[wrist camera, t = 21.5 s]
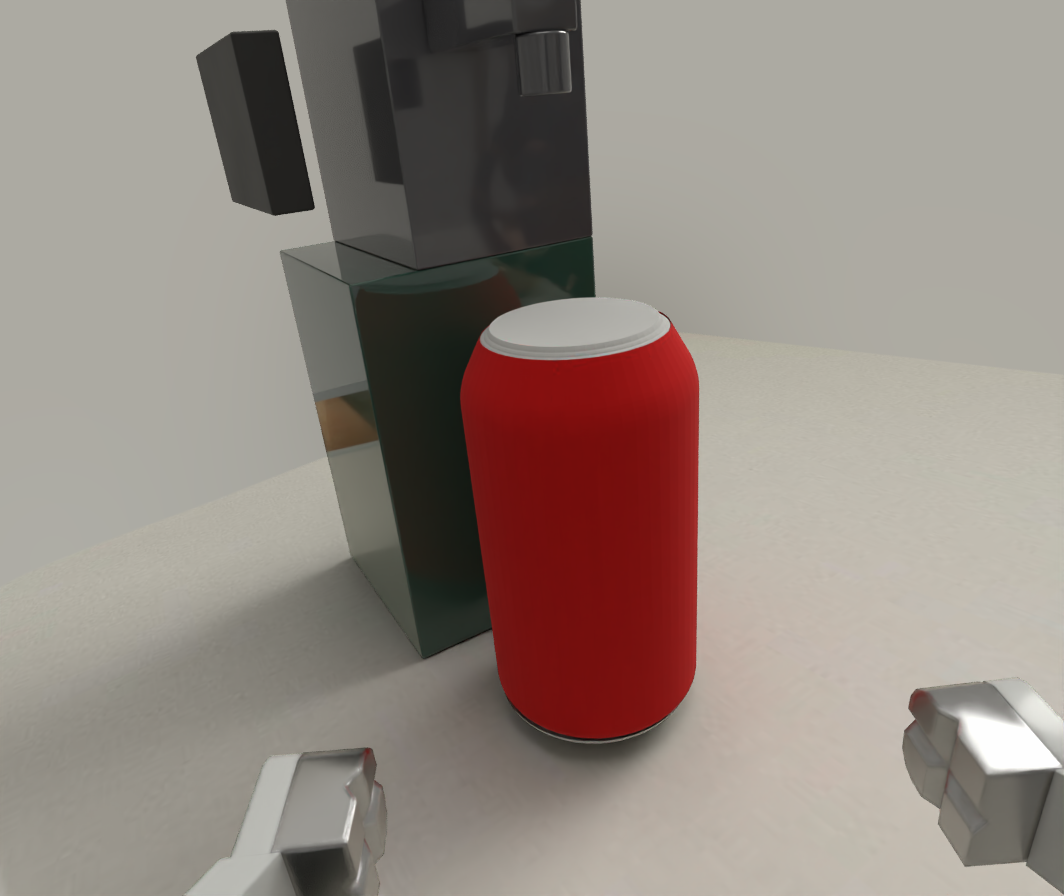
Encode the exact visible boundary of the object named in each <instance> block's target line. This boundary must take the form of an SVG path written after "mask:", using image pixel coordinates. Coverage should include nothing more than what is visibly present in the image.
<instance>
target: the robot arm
mask: <svg viewBox="0 0 1064 896" xmlns="http://www.w3.org/2000/svg"><path fill="white" fill-rule="evenodd" d="M908 709H909V710H910V712H911V713H912V715H913V716H914V718H915V720H914V721H913V722H912V723H911V724H910V725H909V726H908V727H907V728H906V729H905V730H904V738H903V746H902V749H903V754H904V760H905V765H906V768H907V771H908V773H909V775H910V778H911V780H912V782H913V784H914V786H915V787H916V789H917V791H918V792H919V794H920V796H921V797H923V798H924V799H926V800H927V801H929V802H930V803H932V804H933V805H935V806H936V807H938V808H939V809H940V813H939V820H938V825H939V826H940V828H941V830H942V831H943V833H944V834H945V836H946V838H947V839H948V841H949V842H950V844H951V845H952V847H953V849H954V850H955V852H956V853H957V855H958V857H959V858H960V860H961V861H962V863H963V865H964V866H965V867H967V866H980V865H993V864H1006V863H1019V862H1027V863H1026V866H1028V867H1029V868H1030V869H1032V870H1033V871H1034V872H1035V873H1037V874H1038V875H1039V876H1041V877H1042V878H1043V879H1045V880H1046V881H1047V882H1048V883H1050V884H1051V885H1052V886H1054V887H1055V888H1056V889H1058V890H1059V891H1060V892H1061V893H1063V894H1064V721H1063V720H1062V719H1061V718H1060V717H1059V716H1058V715H1057V714H1056V712H1055V711H1054V710H1053V709H1052V708H1051V707H1050V706H1049V705H1048V704H1047V703H1046V702H1045V701H1044V700H1043V699H1042V698H1041V696H1040V695H1039V694H1038V693H1037V692H1036V691H1035V690H1034V689H1033V688H1032V687H1031V686H1030V685H1029V684H1028V683H1027V682H1026V681H1024V680H1022V679H1020V678H1018V677H1017V678H1008V679H999V680H990V681H983V682H971V683H962V684H954V685H945V686H937V687H928V688H919V689H916V690H915V691H914V692H913V694H912V695H911V697H910V702H909V707H908ZM376 767H377V763H376V760H375V756H374V753H373V750H372V749H371V748H368V747H367V748H355V749H342V750H330V751H317V752H304V753H299V754H287V755H274V756H269V757H268V759H267V760H266V761H265V763H264V764H263V765H262V768H261V771H260V773H259V776H258V779H257V782H256V785H255V788H254V791H253V793H252V796H251V799H250V802H249V805H248V808H247V811H246V813H245V816H244V819H243V822H242V825H241V828H240V831H239V833H238V836H237V839H236V842H235V845H234V848H233V851H232V853H231V856H230V857H229V858H221V859H219V860H218V861H217V862H216V863H215V864H214V865H213V866H212V867H211V868H210V869H209V870H208V871H207V872H206V873H205V874H204V875H203V876H202V877H201V878H200V879H199V880H198V881H197V882H196V883H195V884H194V885H193V886H192V887H191V888H190V889H189V890H188V891H187V892H186V893H185V894H184V895H183V896H378V893H379V886H380V882H379V878H378V874H377V871H376V867H375V864H376V863H377V862H378V861H379V859H380V858H381V857H382V856H383V854H384V851H385V843H386V835H387V809H386V801H385V795H384V791H383V787H382V785H381V784H379V783H378V782H376V781H375V780H374V779H375V773H376Z"/></svg>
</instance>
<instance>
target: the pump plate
mask: <svg viewBox="0 0 1064 896" xmlns="http://www.w3.org/2000/svg"><path fill="white" fill-rule="evenodd" d="M196 59H197V63H198V67H199V71H200V75H201V79H202V83H203V86H204V90H205V94H206V99H207V103H208V107H209V110H210V114H211V118H212V122H213V126H214V130H215V134H216V138H217V142H218V146H219V150H220V154H221V158H222V162H223V166H224V169H225V174H226V178H227V182H228V185H229V189H230V193H231V197H232V200H233V202H236V203H239V204H242V205H245V206H248V207H250V208H253V209H257V210H260V211H263V212H265V213H269V214H271V215H275V216H276V215H281V214H288V213H295V212H302V211H308V210H313V209H314V208H315V206H314V201H313V196H312V191H311V187H310V182H309V178H308V172H307V167H306V163H305V158H304V153H303V148H302V143H301V139H300V134H299V129H298V124H297V120H296V115H295V110H294V105H293V100H292V96H291V90H290V86H289V81H288V76H287V72H286V66H285V62H284V57H283V52H282V47H281V42H280V38H279V33H278V31H276V30H264V31H242V32H231V33H230V34H228V35H227V36H225V37H224V38H222V39H221V40H219V41H218V42H216V43H215V44H213V45H212V46H210V47H209V48H207V49H206V50H204V51H203V52H201V53H200V54H198V55H197V56H196Z"/></svg>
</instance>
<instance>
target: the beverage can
mask: <svg viewBox="0 0 1064 896" xmlns="http://www.w3.org/2000/svg"><path fill="white" fill-rule="evenodd" d="M460 401H461V411H462V418H463V425H464V432H465V439H466V446H467V454H468V461H469V468H470V475H471V482H472V489H473V496H474V503H475V510H476V517H477V525H478V532H479V539H480V546H481V553H482V560H483V567H484V574H485V581H486V588H487V596H488V603H489V610H490V617H491V624H492V631H493V638H494V645H495V652H496V660H497V667H498V674H499V678H500V682H501V685H502V687H503V690H504V692H505V694H506V696H507V699H508V701H509V702H510V704H511V706H512V707H513V708H514V710H515V711H516V712H517V713H518V715H519V716H520V717H521V718H523V719H524V720H525V721H526V722H527V723H529V724H530V725H531V726H533V727H534V728H536V729H538V730H539V731H541V732H543V733H545V734H547V735H550V736H553V737H555V738H558V739H562V740H566V741H571V742H576V743H587V744H600V743H611V742H617V741H622V740H625V739H629V738H632V737H635V736H638V735H640V734H643V733H645V732H647V731H649V730H651V729H652V728H654V727H656V726H657V725H659V724H660V723H661V722H663V721H664V720H665V719H666V718H667V717H668V716H670V715H671V714H672V713H673V711H674V710H675V709H676V708H677V707H678V705H679V703H680V702H681V701H682V700H683V699H684V697H685V695H686V694H687V692H688V691H689V688H690V686H691V684H692V682H693V679H694V675H695V669H696V630H697V538H698V446H699V379H698V374H697V370H696V367H695V364H694V361H693V358H692V356H691V354H690V352H689V351H688V349H687V347H686V346H685V344H684V342H683V341H682V339H681V337H680V336H679V334H678V332H677V331H676V329H675V327H674V326H673V324H672V322H671V321H670V319H669V318H668V317H667V316H666V315H665V314H663V313H661V312H659V311H657V310H656V309H655V308H654V307H652V306H650V305H647V304H645V303H642V302H637V301H632V300H626V299H619V298H599V297H598V298H597V297H594V298H572V299H562V300H554V301H548V302H542V303H537V304H533V305H529V306H525V307H521V308H518V309H515V310H512V311H510V312H507V313H505V314H503V315H501V316H499V317H498V318H496V319H495V320H494V321H493V322H492V323H491V324H490V325H489V326H487V327H486V328H485V329H484V330H483V331H482V332H481V334H480V336H479V339H478V341H477V343H476V346H475V348H474V351H473V353H472V355H471V358H470V360H469V363H468V365H467V367H466V370H465V372H464V376H463V380H462V385H461V392H460Z"/></svg>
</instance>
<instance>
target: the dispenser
mask: <svg viewBox="0 0 1064 896" xmlns="http://www.w3.org/2000/svg"><path fill="white" fill-rule="evenodd" d="M286 4H287V9H288V14H289V19H290V24H291V29H292V34H293V38H294V44H295V49H296V54H297V59H298V64H299V69H300V74H301V79H302V84H303V88H304V94H305V98H306V103H307V109H308V114H309V118H310V123H311V128H312V133H313V138H314V143H315V148H316V153H317V158H318V163H319V168H320V173H321V178H322V183H323V188H324V193H325V198H326V202H327V208H328V213H329V218H330V223H331V228H332V233H333V238H334V241H333V242H328V243H322V244H316V245H310V246H305V247H299V248H293V249H287V250H281V251H280V255H281V260H282V264H283V268H284V273H285V277H286V281H287V285H288V290H289V294H290V298H291V302H292V307H293V311H294V315H295V319H296V323H297V328H298V332H299V337H300V341H301V345H302V349H303V354H304V358H305V362H306V367H307V371H308V375H309V379H310V384H311V388H312V392H313V396H314V401H315V405H316V409H317V413H318V418H319V422H320V426H321V430H322V435H323V439H324V444H325V448H326V452H327V456H328V461H329V465H330V469H331V474H332V478H333V482H334V486H335V491H336V495H337V499H338V503H339V508H340V512H341V516H342V521H343V525H344V529H345V533H346V538H347V542H348V546H349V551H350V555H351V557H352V558H353V559H354V561H355V562H356V564H357V565H358V567H359V568H360V570H361V571H362V572H363V574H364V575H365V577H366V578H367V580H368V581H369V582H370V584H371V585H372V587H373V588H374V590H375V591H376V592H377V594H378V595H379V597H380V598H381V600H382V601H383V602H384V604H385V605H386V607H387V608H388V610H389V611H390V613H391V614H392V615H393V617H394V618H395V620H396V621H397V623H398V624H399V625H400V627H401V628H402V630H403V631H404V633H405V634H406V635H407V637H408V638H409V640H410V641H411V643H412V644H413V645H414V647H415V648H416V650H417V651H418V653H419V654H420V656H421V657H422V658H426V657H428V656H431V655H433V654H435V653H437V652H440V651H442V650H444V649H446V648H448V647H451V646H453V645H455V644H457V643H460V642H462V641H464V640H466V639H468V638H471V637H473V636H475V635H477V634H480V633H482V632H484V631H486V630H488V629H491V628H492V624H491V617H490V610H489V603H488V596H487V588H486V581H485V574H484V567H483V560H482V553H481V546H480V539H479V532H478V525H477V517H476V510H475V503H474V496H473V489H472V482H471V475H470V468H469V461H468V454H467V446H466V439H465V432H464V425H463V418H462V411H461V401H460V392H461V385H462V380H463V376H464V372H465V370H466V367H467V365H468V363H469V360H470V358H471V355H472V353H473V351H474V348H475V346H476V343H477V341H478V339H479V336H480V334H481V332H482V331H483V330H484V329H485V328H486V327H487V326H489V325H490V324H491V323H492V322H493V321H494V320H495V319H496V318H498V317H499V316H501V315H503V314H505V313H507V312H510V311H512V310H515V309H518V308H521V307H525V306H529V305H533V304H537V303H542V302H548V301H554V300H562V299H572V298H594V297H596V295H595V276H594V256H593V238H592V237H591V236H592V215H591V195H590V176H589V156H588V136H587V117H586V99H585V98H586V97H585V78H584V58H583V39H582V20H581V0H286Z"/></svg>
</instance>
